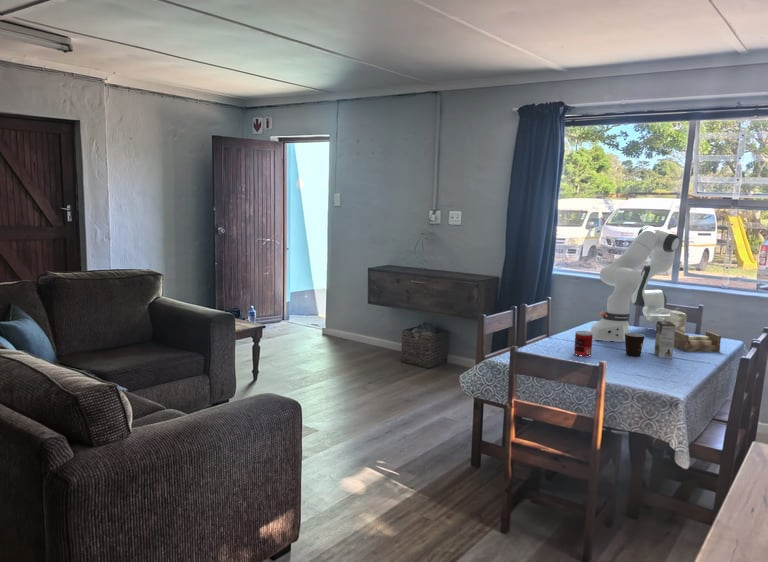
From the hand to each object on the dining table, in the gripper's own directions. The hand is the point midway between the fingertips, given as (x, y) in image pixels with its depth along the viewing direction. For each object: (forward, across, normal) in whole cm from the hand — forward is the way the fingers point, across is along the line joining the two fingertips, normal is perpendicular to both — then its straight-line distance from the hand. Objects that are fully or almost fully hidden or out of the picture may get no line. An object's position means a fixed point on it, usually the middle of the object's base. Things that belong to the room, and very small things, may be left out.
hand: (673, 320), depth 312 cm
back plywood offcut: (+25, 0, +10) cm, 27 cm away
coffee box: (+40, -24, +10) cm, 48 cm away
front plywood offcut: (+27, 0, +10) cm, 29 cm away
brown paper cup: (+39, -37, +10) cm, 55 cm away
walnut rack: (+25, 0, +10) cm, 27 cm away
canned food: (+41, -63, +9) cm, 76 cm away
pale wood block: (+5, 0, +10) cm, 11 cm away
